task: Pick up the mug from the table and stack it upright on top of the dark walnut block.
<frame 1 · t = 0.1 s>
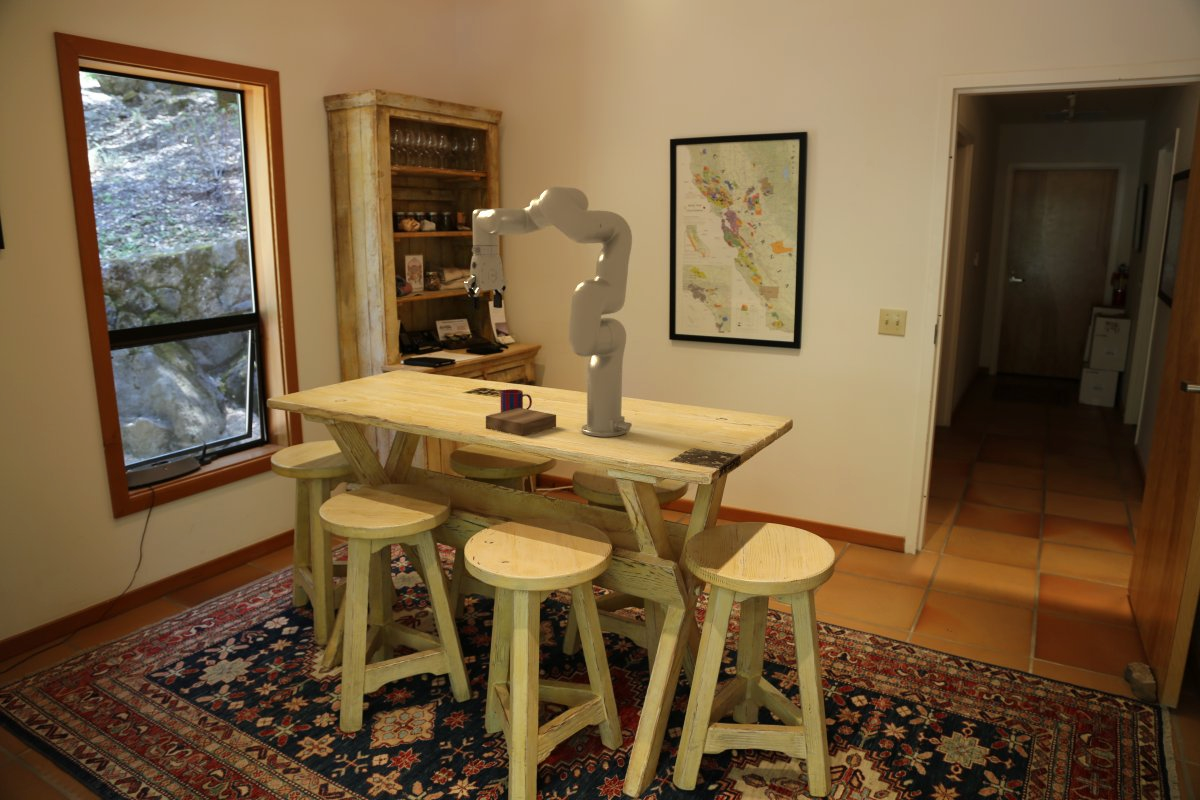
hand: (486, 308, 254), 31 cm above the table, fingers open, 9 cm apart
walnut block: (521, 429, 238), on the table
mug: (516, 414, 255), on the table
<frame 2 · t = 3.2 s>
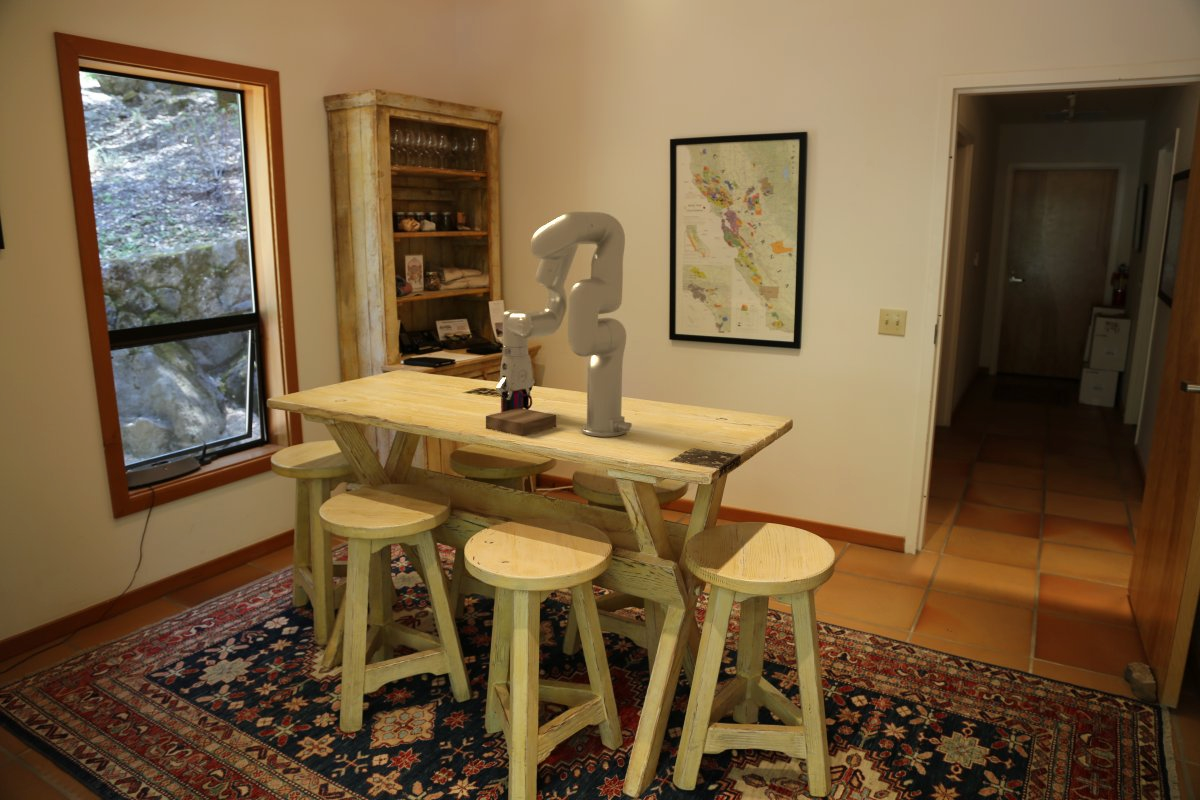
hand: (515, 409, 255), 1 cm above the table, fingers closed on mug, 6 cm apart
mug: (516, 414, 255), on the table, touching gripper
everything else where it was.
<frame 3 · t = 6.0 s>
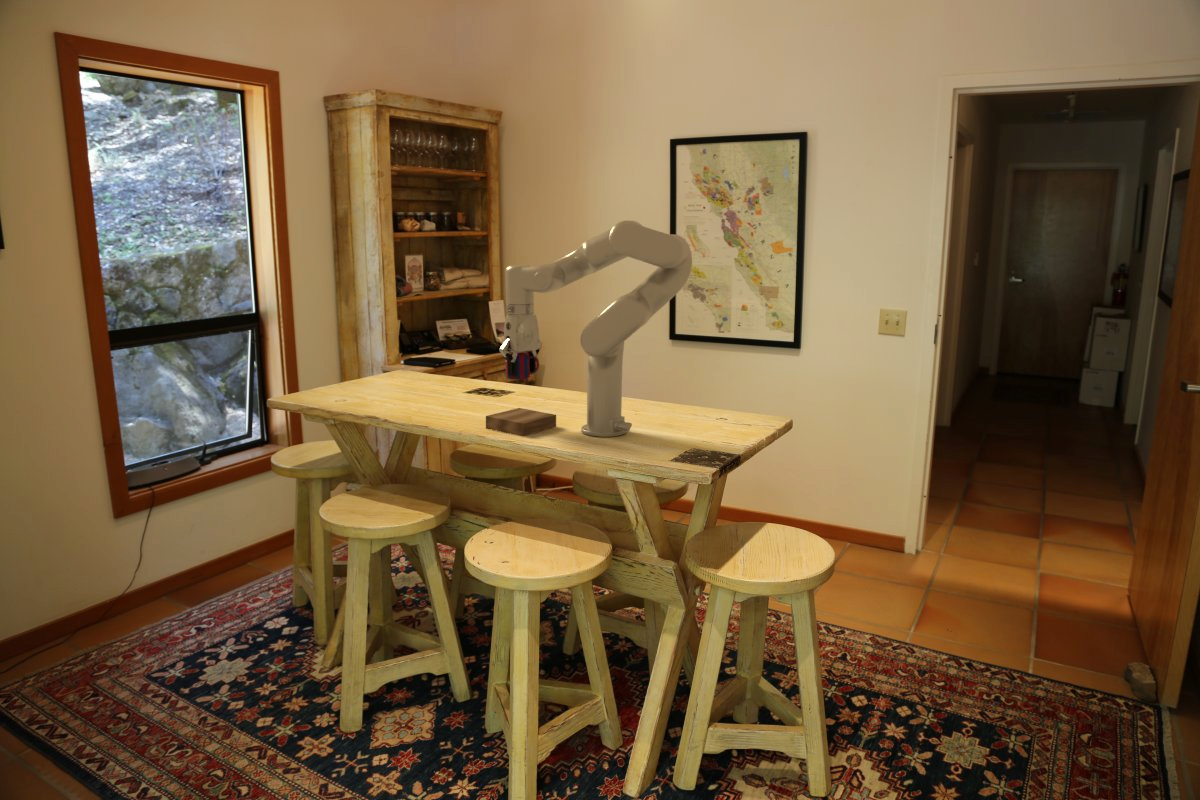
hand: (521, 373, 236), 15 cm above the table, fingers closed on mug, 6 cm apart
mug: (522, 378, 237), point 14 cm above the table, touching gripper
everything else where it was.
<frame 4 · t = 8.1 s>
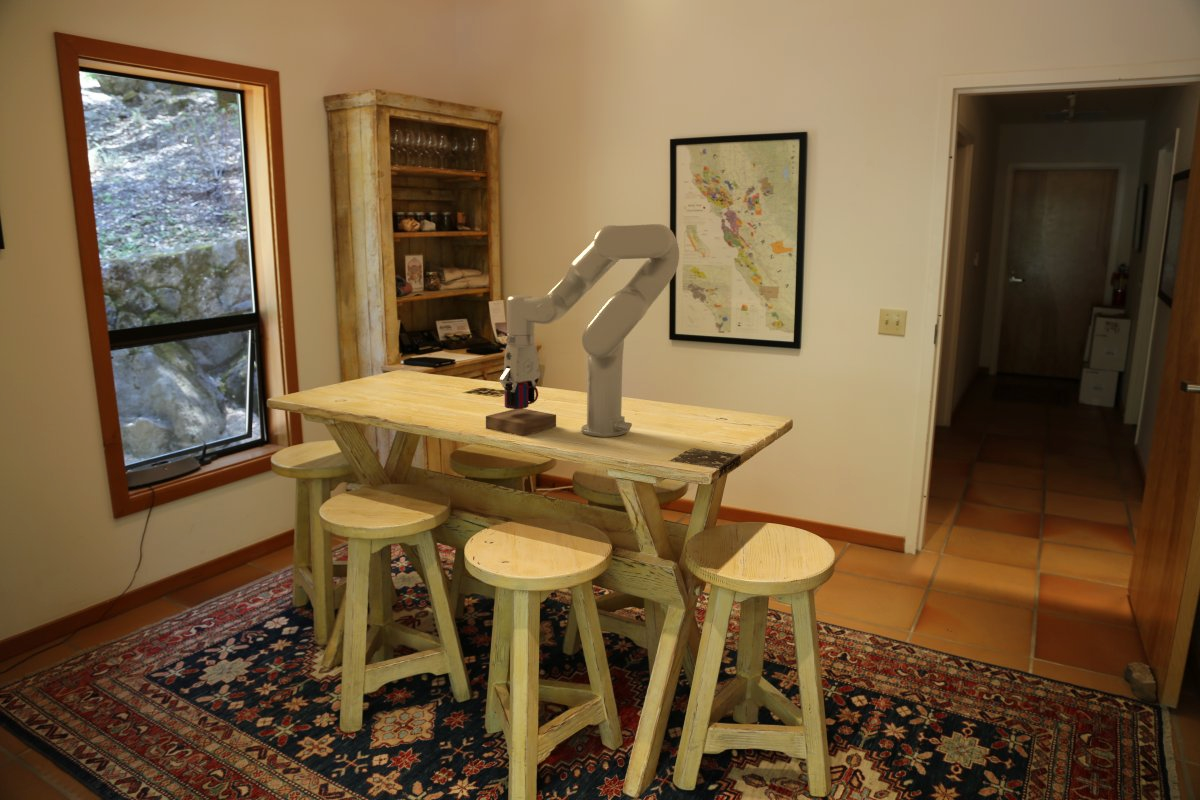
hand: (520, 402, 237), 7 cm above the table, fingers closed on mug, 6 cm apart
mug: (521, 407, 237), point 6 cm above the table, touching gripper
everything else where it was.
when the fingers open (6 cm above the table, at t = 9.3 s): mug drops 2 cm, resting on walnut block.
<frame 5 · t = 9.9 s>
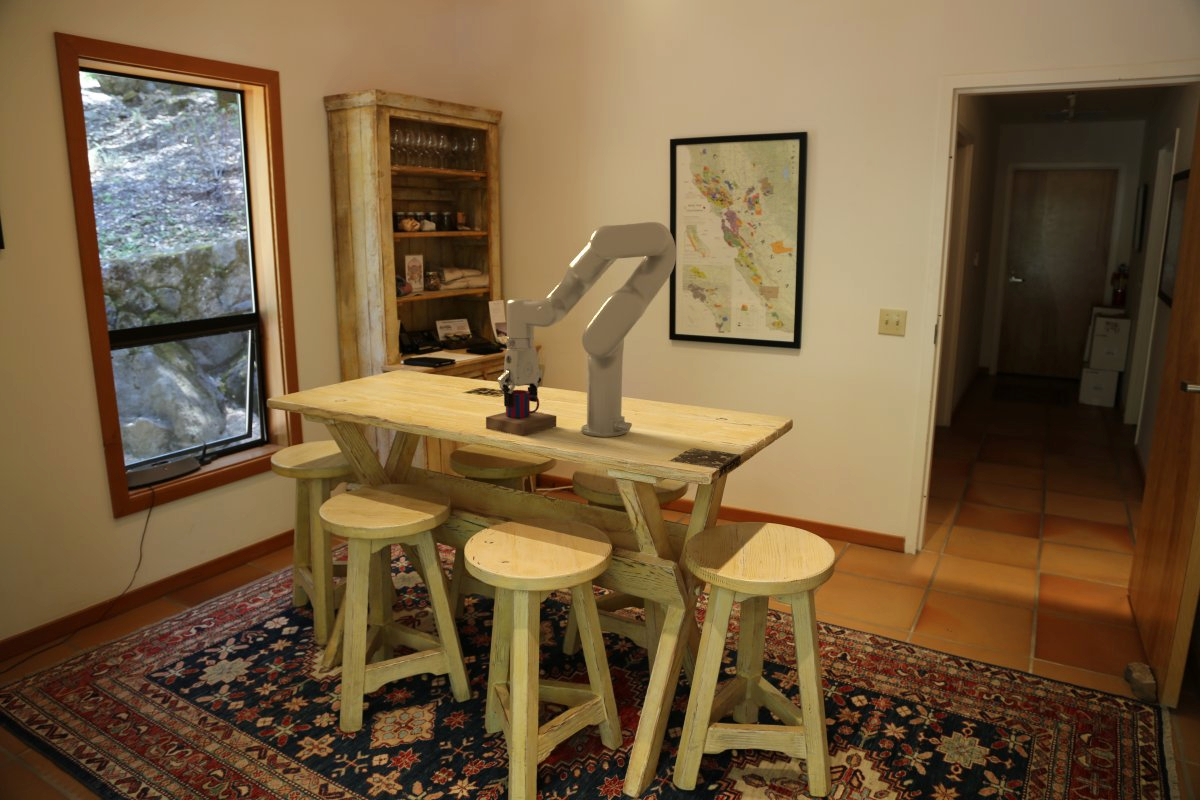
hand: (521, 404, 237), 7 cm above the table, fingers open, 9 cm apart
walnut block: (521, 430, 238), on the table, touching mug
mug: (522, 417, 237), point 3 cm above the table, touching walnut block
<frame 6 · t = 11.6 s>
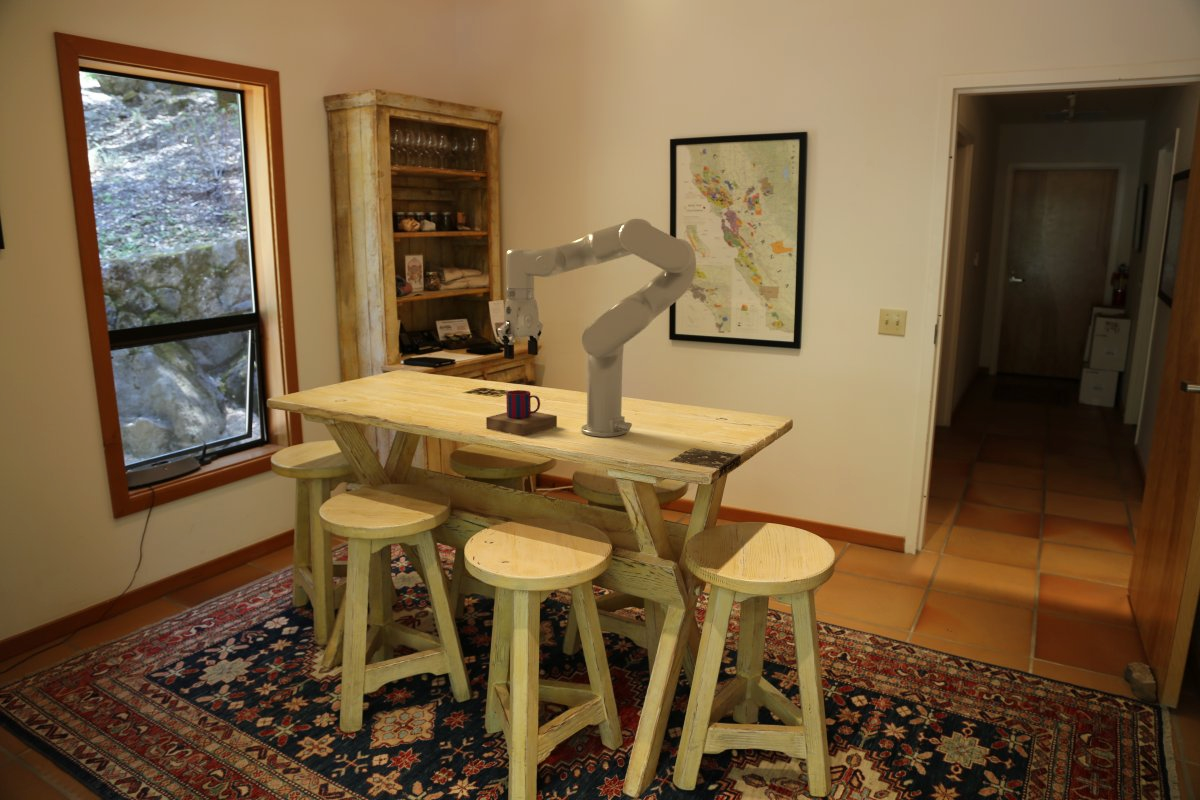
hand: (521, 356, 234), 20 cm above the table, fingers open, 9 cm apart
walnut block: (521, 430, 238), on the table
mug: (523, 417, 237), point 3 cm above the table
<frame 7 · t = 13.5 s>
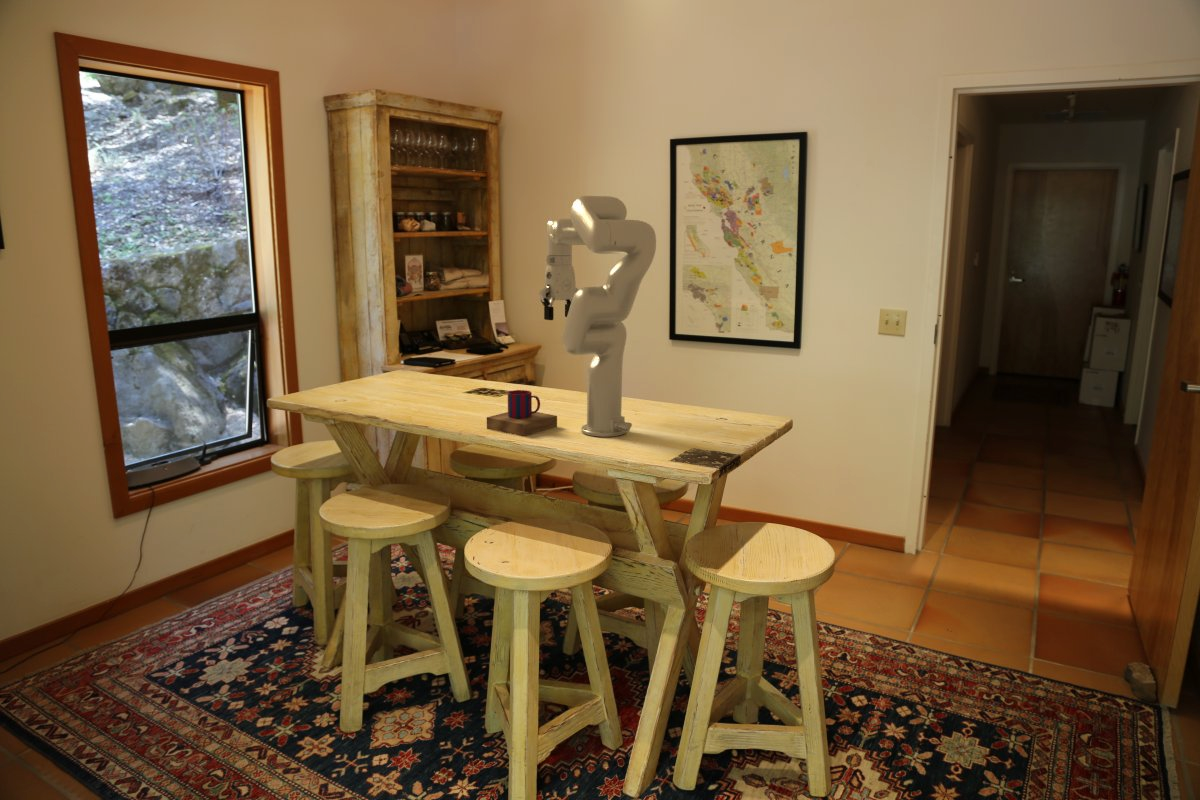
hand: (559, 318, 256), 28 cm above the table, fingers open, 9 cm apart
walnut block: (522, 430, 238), on the table, touching mug
mug: (524, 417, 237), point 3 cm above the table, touching walnut block
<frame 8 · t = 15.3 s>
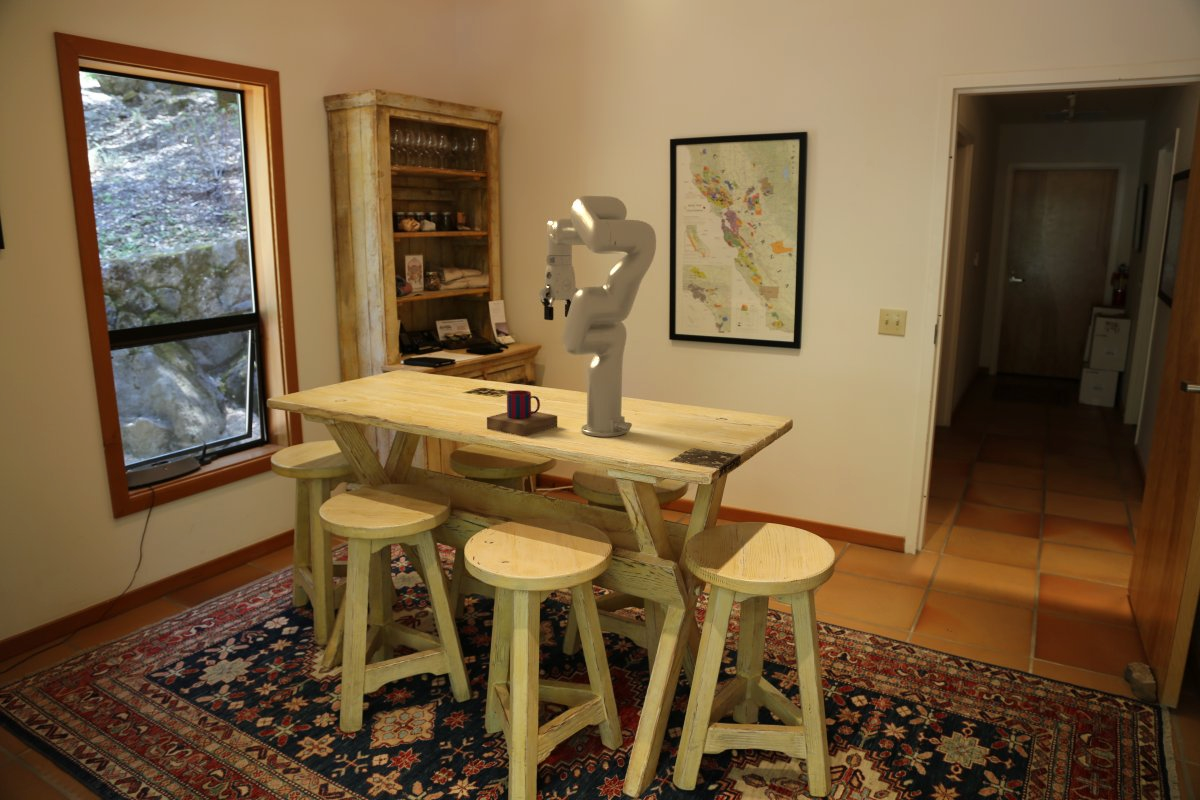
hand: (559, 318, 256), 28 cm above the table, fingers open, 9 cm apart
walnut block: (522, 430, 238), on the table
mug: (523, 417, 236), point 3 cm above the table
at the end: mug inside the target area on the walnut block (1.0 cm from its centre), point 3.8 cm above the walnut block's base; mug tilted 0°; the gripper is holding nothing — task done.
